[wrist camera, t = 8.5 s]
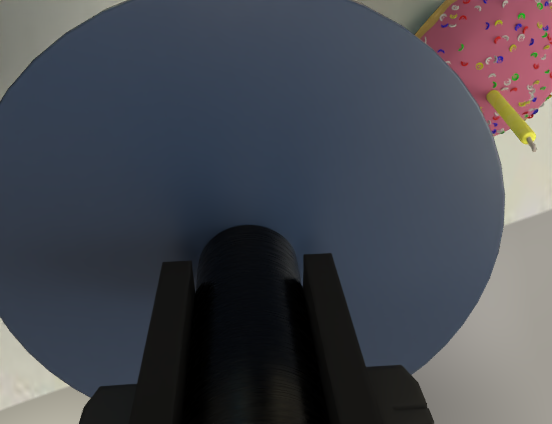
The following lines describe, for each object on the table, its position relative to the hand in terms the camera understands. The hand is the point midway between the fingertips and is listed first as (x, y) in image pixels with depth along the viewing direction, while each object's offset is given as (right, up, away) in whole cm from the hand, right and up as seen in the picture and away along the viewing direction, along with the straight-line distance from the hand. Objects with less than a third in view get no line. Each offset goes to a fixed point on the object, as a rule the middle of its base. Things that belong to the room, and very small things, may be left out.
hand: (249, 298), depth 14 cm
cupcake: (+12, +13, +18) cm, 25 cm away
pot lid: (0, +1, +2) cm, 2 cm away
